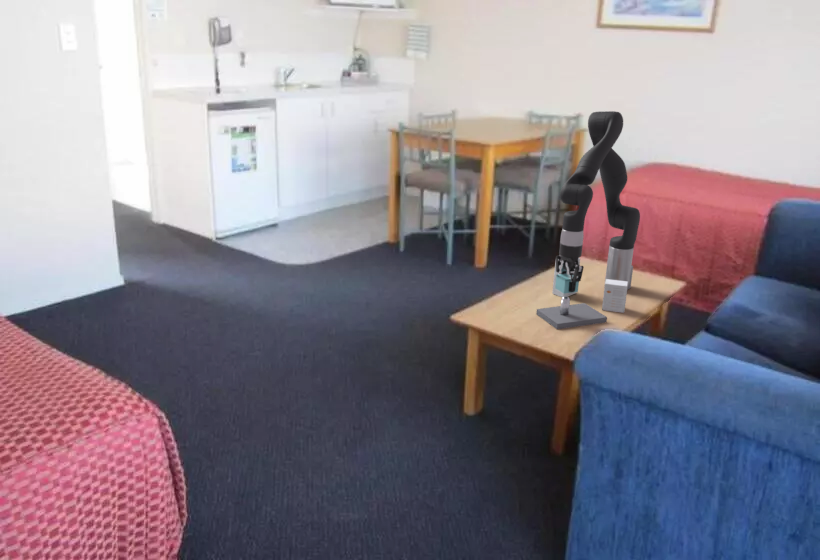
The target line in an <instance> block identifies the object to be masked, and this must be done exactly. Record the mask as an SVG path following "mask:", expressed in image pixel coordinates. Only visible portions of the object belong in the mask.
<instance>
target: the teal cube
mask: <svg viewBox="0 0 820 560" xmlns="http://www.w3.org/2000/svg"><path fill="white" fill-rule="evenodd" d="M573 276H574V275H572V278H573ZM577 278H578V277H577ZM569 282H570V280H569V276H568V274H558V275H556V285H555V288H556V289H557V290H559V291H561V292H562V293H572V292H569ZM579 283H580V281H579V282H576V288H575V291H574V292H576V293H578V292H579Z"/></svg>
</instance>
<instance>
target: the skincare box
mask: <svg viewBox="0 0 820 560" xmlns="http://www.w3.org/2000/svg"><path fill="white" fill-rule="evenodd" d="M554 262H555V264H554V274H553V281H552V282H553V284H552V292H551V293H552V294H553V295H555V296H556V297H557V296H558V297H560V298H562V297H564V296H568V297H569V296H572V295H575V294H577V292H572V293H562V292H561V291H559V290H557V289H556V288H555V285H556V275H558V274H559V273H558V272H556V260H555V261H554ZM578 263H579V265H580V266H581V264H580V263H581V257H579V258H578ZM559 268H560V265H559ZM574 272H575V271H573V272H571V273H574ZM577 277H578V276H577Z"/></svg>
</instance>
